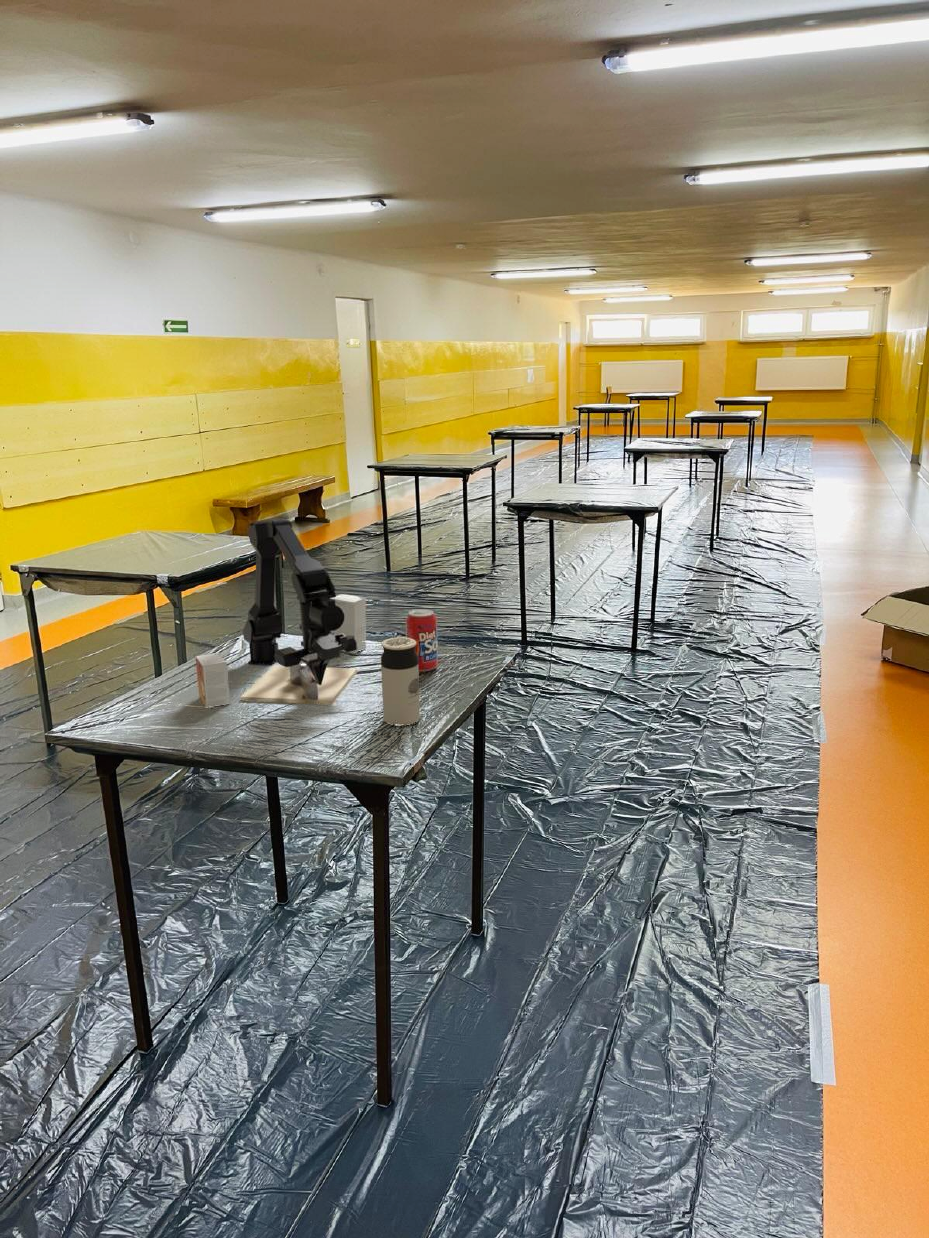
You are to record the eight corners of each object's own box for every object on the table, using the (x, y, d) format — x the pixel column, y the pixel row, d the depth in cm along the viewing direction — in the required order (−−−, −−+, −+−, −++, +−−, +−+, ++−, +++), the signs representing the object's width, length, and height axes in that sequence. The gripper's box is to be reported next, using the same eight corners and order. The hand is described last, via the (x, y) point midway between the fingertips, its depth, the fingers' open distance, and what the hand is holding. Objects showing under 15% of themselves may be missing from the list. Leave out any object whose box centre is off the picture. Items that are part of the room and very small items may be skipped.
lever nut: (286, 676, 216) (285, 659, 215) (306, 673, 218) (305, 656, 217) (304, 701, 200) (302, 683, 198) (325, 697, 202) (324, 679, 200)
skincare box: (330, 650, 239) (327, 598, 235) (343, 644, 244) (340, 592, 240) (356, 654, 235) (353, 601, 231) (368, 648, 241) (366, 596, 236)
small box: (199, 698, 206) (194, 655, 203) (223, 693, 209) (219, 652, 206) (206, 709, 199) (201, 665, 196) (230, 704, 202) (226, 661, 199)
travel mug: (376, 720, 192) (372, 642, 187) (403, 710, 197) (400, 634, 192) (400, 730, 186) (397, 650, 181) (427, 719, 192) (425, 641, 187)
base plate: (240, 700, 204) (240, 696, 204) (274, 669, 225) (273, 665, 225) (331, 704, 201) (331, 700, 201) (357, 672, 222) (356, 668, 221)
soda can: (409, 663, 228) (407, 608, 224) (438, 663, 228) (437, 608, 224) (405, 673, 221) (403, 616, 216) (436, 673, 220) (435, 616, 216)
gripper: (292, 637, 189) (299, 704, 193) (367, 620, 199) (371, 684, 204) (270, 626, 197) (277, 691, 202) (342, 610, 208) (347, 672, 212)
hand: (319, 684), depth 204 cm, fingers closed
